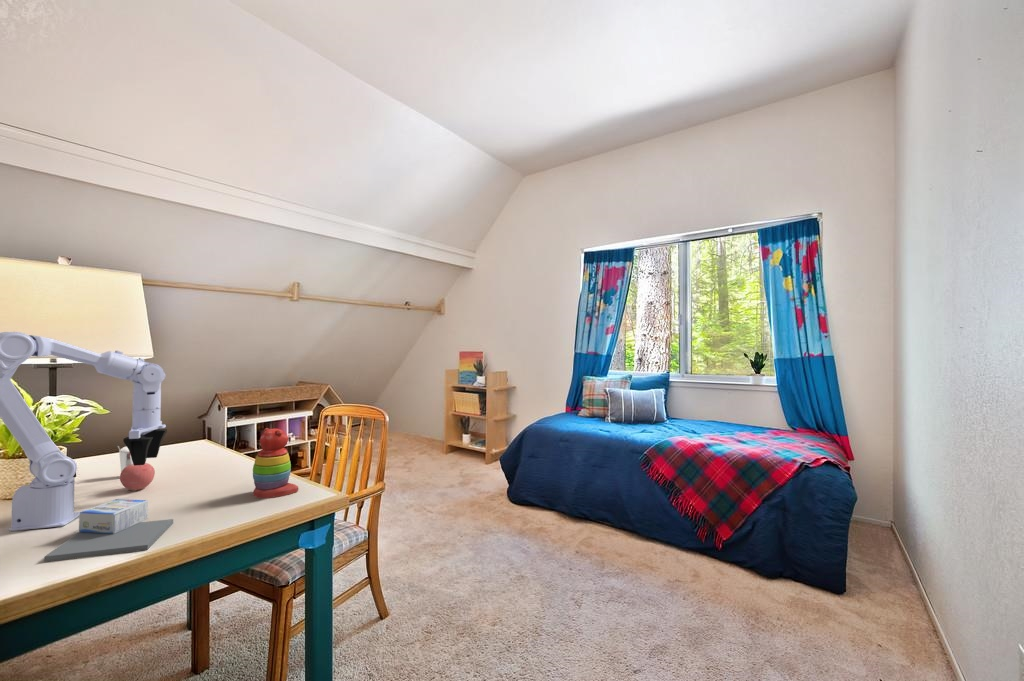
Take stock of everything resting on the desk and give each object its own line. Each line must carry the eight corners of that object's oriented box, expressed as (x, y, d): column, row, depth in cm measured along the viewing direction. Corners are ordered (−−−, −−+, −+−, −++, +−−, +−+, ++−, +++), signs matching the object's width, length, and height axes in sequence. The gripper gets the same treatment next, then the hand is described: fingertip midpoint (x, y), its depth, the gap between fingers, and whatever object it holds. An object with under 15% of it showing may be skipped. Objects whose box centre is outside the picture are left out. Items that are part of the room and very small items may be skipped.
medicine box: (149, 499, 104) (113, 513, 95) (148, 519, 103) (113, 534, 95) (116, 498, 104) (78, 511, 95) (116, 518, 104) (77, 533, 95)
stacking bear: (301, 491, 127) (302, 427, 127) (266, 501, 119) (267, 433, 119) (278, 484, 133) (279, 423, 133) (243, 494, 124) (244, 429, 124)
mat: (44, 561, 85) (44, 556, 85) (85, 532, 98) (85, 527, 98) (147, 549, 90) (147, 544, 90) (173, 523, 104) (173, 518, 104)
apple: (129, 486, 129) (130, 458, 130) (159, 484, 131) (159, 457, 131) (113, 494, 122) (114, 465, 122) (144, 493, 124) (145, 463, 124)
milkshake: (111, 478, 136) (112, 445, 136) (131, 473, 141) (131, 441, 141) (122, 480, 135) (123, 446, 135) (141, 475, 140) (142, 442, 140)
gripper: (154, 412, 112) (153, 467, 112) (175, 404, 126) (174, 453, 126) (118, 413, 110) (117, 469, 110) (144, 405, 123) (143, 455, 123)
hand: (145, 461), depth 117 cm, fingers open, 7 cm apart
